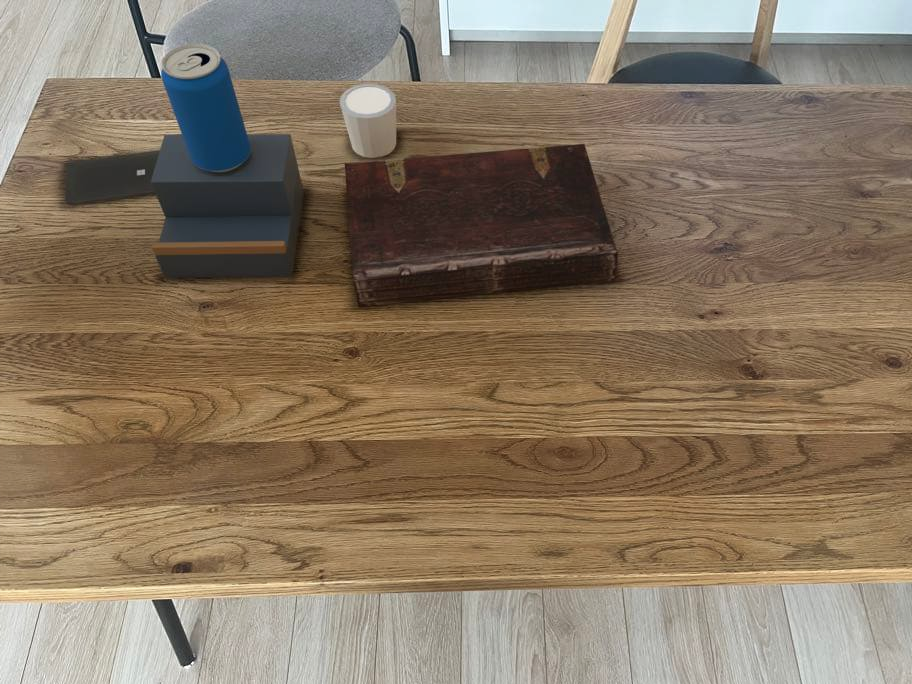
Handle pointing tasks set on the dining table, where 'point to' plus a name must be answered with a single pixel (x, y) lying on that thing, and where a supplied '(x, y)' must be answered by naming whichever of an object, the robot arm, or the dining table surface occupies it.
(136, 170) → the smartphone
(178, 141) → the step shelf
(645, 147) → the dining table surface
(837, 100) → the dining table surface
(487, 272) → the hardback book
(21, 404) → the dining table surface
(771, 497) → the dining table surface
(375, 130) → the white cylinder
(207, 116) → the beverage can
